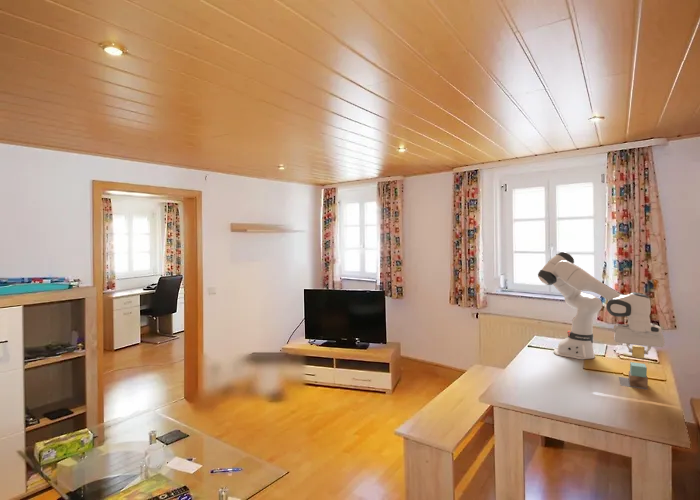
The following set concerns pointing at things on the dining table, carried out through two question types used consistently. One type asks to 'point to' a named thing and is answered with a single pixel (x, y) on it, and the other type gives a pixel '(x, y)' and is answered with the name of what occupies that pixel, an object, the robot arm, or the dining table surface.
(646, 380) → the block base
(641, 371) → the block top
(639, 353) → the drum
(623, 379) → the slate board
